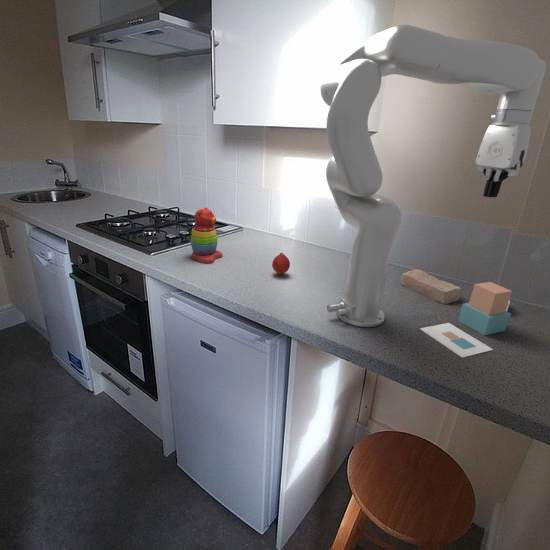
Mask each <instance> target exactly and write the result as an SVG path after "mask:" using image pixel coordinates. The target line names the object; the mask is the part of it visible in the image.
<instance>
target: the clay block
mask: <svg viewBox="0 0 550 550" xmlns="http://www.w3.org/2000/svg"><path fill="white" fill-rule="evenodd" d="M512 292H513V291H512V290H511V289H508V288H506V287H503V286H501V285H499V284H496V283H494V282H492V281H488V282H480V283H475V284H474V285H473V288H472V292H471V296H470V299H469V302H468V303H469V306H471V307H473V308H475V309H477V310H479V311H481V312H483V313H485V314H487V315H494V314H499V313H504V312H505V310H506V307H507V305H508V302H509V300H510V299H511V296H512Z"/></svg>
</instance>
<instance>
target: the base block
mask: <svg viewBox="0 0 550 550" xmlns="http://www.w3.org/2000/svg"><path fill="white" fill-rule="evenodd" d="M511 316H512V313H510V312H508V310H507V311H505V312H504V313H499V314H494V315H487V314H485V313H483V312H481V311H479V310H477V309H475V308H473V307H471V306H469V302H466V303H462V305H461V309H460V312H459V316H458V319H457V321H458V322H460V323H462V324H463V325H465V326H467V327H468V328H469V329H472V330H474V331H475V332H477V333H479V334H480V335H483V336H489V335H492V334H497V333H501V332H505V331H506V330H507V327H508V324H509V321H510V319H511Z"/></svg>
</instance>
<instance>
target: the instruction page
mask: <svg viewBox="0 0 550 550" xmlns="http://www.w3.org/2000/svg"><path fill="white" fill-rule="evenodd" d="M419 329H420V331H422V332H423V333H424V334H426V335H428V336H429V337H431V338H432V339H434V340H435V341H437V342H438V343H439V344H441V345H442V346H444V347H446V348H447V349H448V350H450V351H451V352H453V353H454V354H456V355H457V356H459V357H460V358H462V359H463V358H467V357H470V356H475V355H479V354H482V353H486V352H491V351H493V350H494V348H491V347H490V346H489V345H487V344H485V343H484V342H481V341H480V340H478V339H477V338H475V337H473V336H472V335H470V334H468V333H467V332H464V331H463V330H461V329H460V328H458V327H456V326H455V325H453V324H451V323H450V322H446V323H441V324H437V325H431V326H425V327H420V328H419Z"/></svg>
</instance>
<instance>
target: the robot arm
mask: <svg viewBox="0 0 550 550" xmlns="http://www.w3.org/2000/svg"><path fill="white" fill-rule="evenodd" d="M546 70H547V63H546V62H545V60H543V59H540V57H539V55H538V54H537V53H536V52H535V51H534V50H532V49H530V48H529V47H528V48H527V47H525V46H522V45H518V44H514V43H509V42H504V41H503V42H502V41H494V40H493V41H492V40H483V39H473V38H459V37H454V36H451V35H446V34H444V33H441V32H436V31H432V30H429V29H425V28H423V27H417V26H415V25H414V26H413V25H410V24H397V25H395V26H392V27H390V28H388V29H387V28H386V29H385V30H383V31H381V32H377V33H376V34H374V35H372V36H370V38H368V39H367V40H366V41H365V42H364V41H363V42H362V44H360V45H359V46H358V47H356V48H355V49H354V50H353V51H351V52H350V53H349V54H348V55H346V56H344V58H343V59H341V60H340V61H339V62H337V63H335V64H334V65H333V66H331V67H330V68H329V69H328V70H327V71H326V73H325V74H324V76H323V78H322V80H321V83H320V94H321V98H322V100H323V101H324V103H325V104H326V105H327V106H329V110H328V114H327V119H326V127H325V128H326V136H327V137H326V138H327V141H328V145H329V147H330V151H331V154H332V157H331V158H330V159H329V161H328V163H327V166H326V171H325V176H326V181H327V185H328V188H329V190H330V192H331V194H332V197H333V199H334V202H335V204H336V206H337V209H338V211H339V213H340V216H341V217H342V219H343V220H344V222H346V224H348V225H349V226H351V227H353V228H354V229H356V230H358V233H357V235H356V237H355V239H354V241H353V243H352V246H351V250H350V255H349V261H348V263H349V264H348V269H347V276H346V283H345V289H344V295H343V297H341V298H340V300H339V301H338V302H337V303H332V304H327V305H326V310H327V312H328V313H333V312H334V313H335V314H336V316H337V317H338V318H339V319H340V320H341V321H343V322H345V323H346V324H349V325H351V326H352V325H353V326H355V327H362V328H372V327H373V328H374V327H377V326H380V325H382V324H383V323H384V321H385V313H384V312H383V311H382V310H381V304H382V301H383V300H382V299H383V295H384V290H385V285H386V280H387V275H388V268H389V265H390V264H389V263H390V258H391V253H392V249H393V246H394V243H395V240H396V237H397V234H398V233H399V231H400V228H401V225H402V220H403V219H402V218H403V217H402V211H401V208H400V207H399V206H398V204H397V203H396V202H395V201H393V200H392V199H390V198H388V197H386V196H384V195H383V196H382V195H380V194H377V192H378V191H379V190H380V189H381V187H382V184H383V179H384V178H383V172H382V168H381V165H380V162H379V159H378V157H377V154H376V151H375V148H374V145H373V141H372V138H371V134H370V130H369V126H368V125H369V123H368V122H369V114H370V112H371V109H372V106H373V104H374V103H375V101H376V99H377V97H378V95H379V93H380V90H381V86H382V77H386V76H390V75H398V76H404V77H408V78H413V79H417V80H422V81H426V82H429V83H434V84H440V85H443V84H444V85H461V84H469V86H470V88H471V89H472V90H473V91H474V92H476V93H477V94H483V95H489V94H499V95H500V96H499V99H498V104H497V107H496V111H495V114H492V115H491V117H490V119H491V120H490V121H493V122H492V124H490V125H488V127H487V129H486V131H485V133H484V135H483V138H482V140H481V143H480V146H479V149H478V153H477V155H476V159H475V165H477V169H476V170H477V171H479V172H481V173H483V174H484V180H485V181H486V183H485V186H484V189H483V194H482V195H483V197H487V198H497V197H498V195H499V194H500V189H501V186H502V183H503V182H505V181H506V179H508V178H509V177H513V176H519V175H520V169H522V167H523V166H524V164H525V161H526V157H527V153H528V149H529V144H530V139H531V126H529V125H530V123H531V119H532V116H533V113H534V109H535V106H536V102H537V99H538V96H539V93H540V90H541V86H542V83H543V81H544V80H543V79H544V77H545V73H546Z"/></svg>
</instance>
